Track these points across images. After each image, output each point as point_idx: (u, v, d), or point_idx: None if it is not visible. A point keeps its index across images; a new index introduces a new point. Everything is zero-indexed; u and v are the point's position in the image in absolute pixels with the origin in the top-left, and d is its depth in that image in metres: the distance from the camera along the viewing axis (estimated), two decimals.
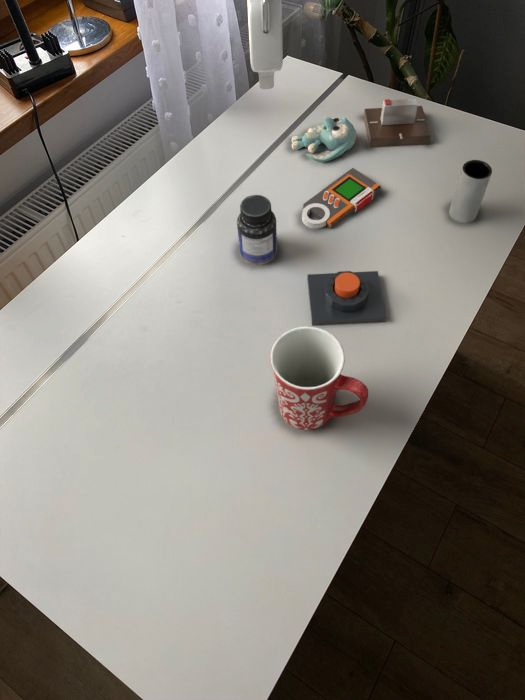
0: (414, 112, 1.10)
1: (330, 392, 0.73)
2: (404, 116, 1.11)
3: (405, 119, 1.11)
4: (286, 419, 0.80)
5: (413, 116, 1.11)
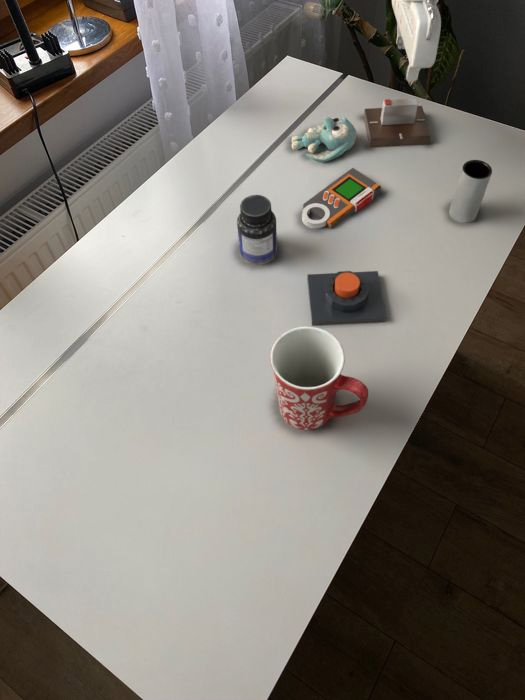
0: (414, 112, 1.10)
1: (330, 392, 0.73)
2: (404, 116, 1.11)
3: (405, 119, 1.11)
4: (286, 419, 0.80)
5: (413, 116, 1.11)
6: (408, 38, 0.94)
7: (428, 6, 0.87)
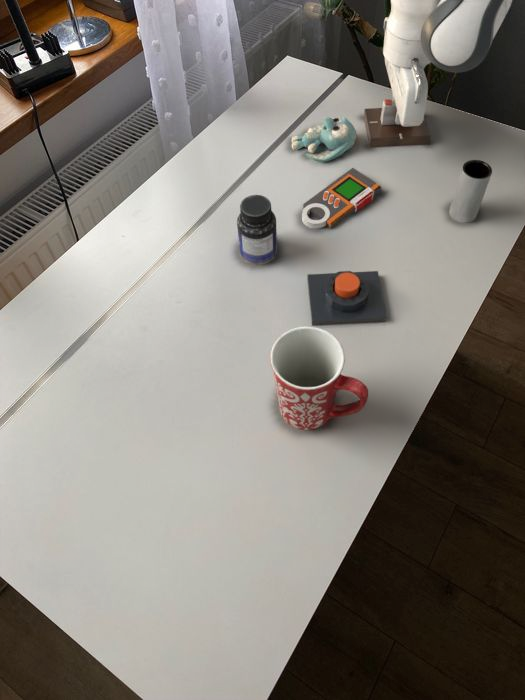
0: None
1: (330, 392, 0.73)
2: None
3: None
4: (286, 419, 0.80)
5: None
6: (399, 99, 1.03)
7: (415, 74, 0.96)
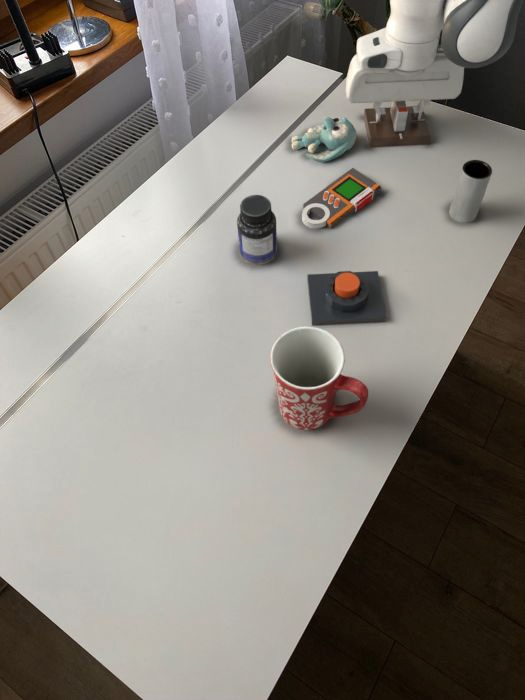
0: None
1: (330, 392, 0.73)
2: None
3: None
4: (286, 419, 0.80)
5: None
6: (436, 87, 1.05)
7: None
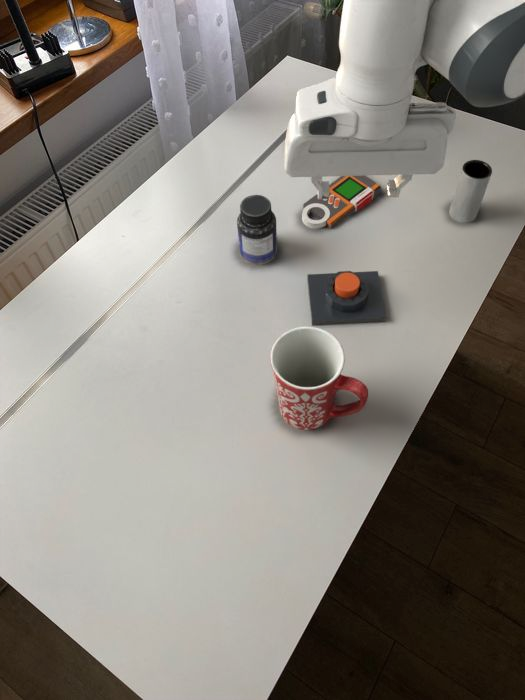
0: None
1: (330, 392, 0.73)
2: None
3: None
4: (286, 419, 0.80)
5: None
6: (408, 159, 0.75)
7: (440, 108, 0.70)
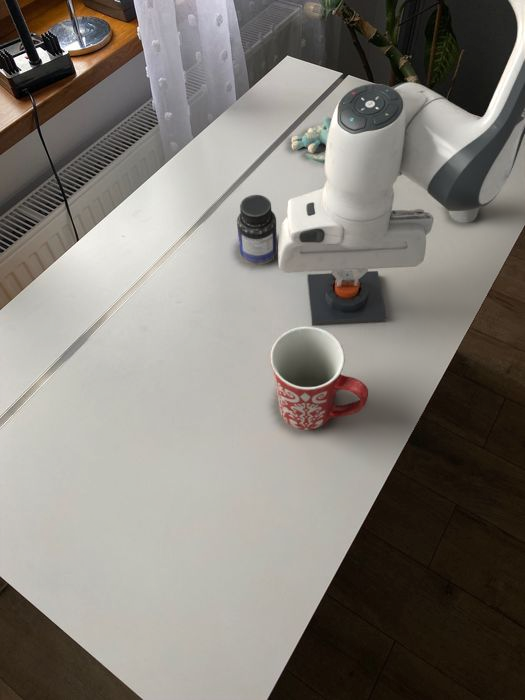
0: None
1: (330, 392, 0.73)
2: None
3: None
4: (286, 419, 0.80)
5: None
6: (391, 256, 0.82)
7: (419, 215, 0.77)
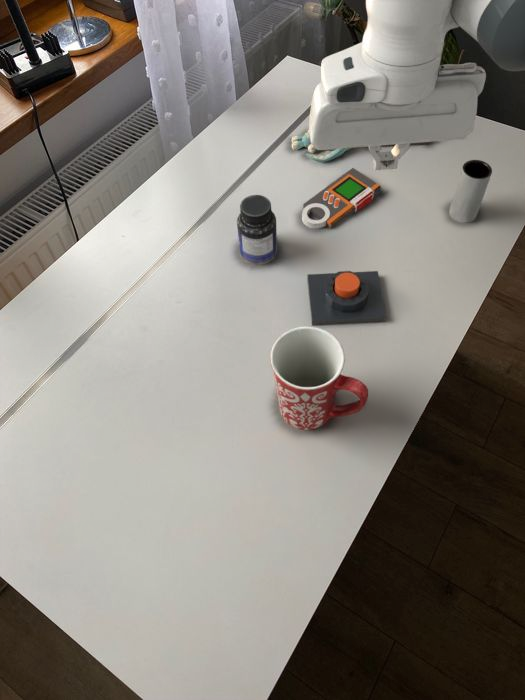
0: None
1: (330, 392, 0.73)
2: None
3: None
4: (286, 419, 0.80)
5: None
6: (437, 125, 0.73)
7: (470, 69, 0.69)
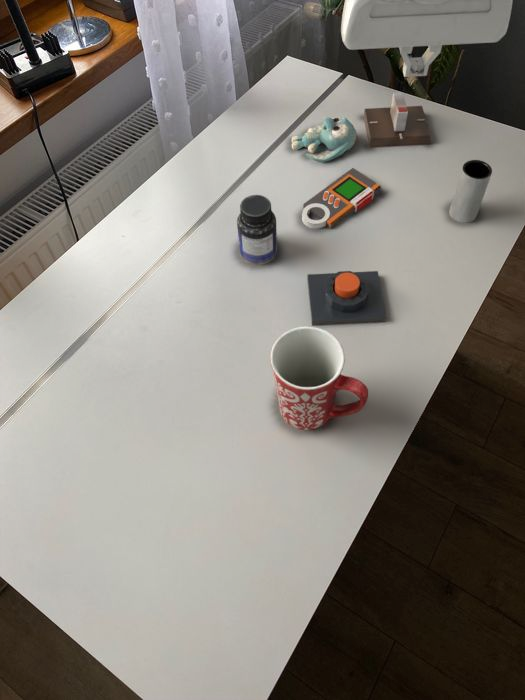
0: None
1: (330, 392, 0.73)
2: None
3: None
4: (286, 419, 0.80)
5: None
6: (471, 24, 0.73)
7: None
